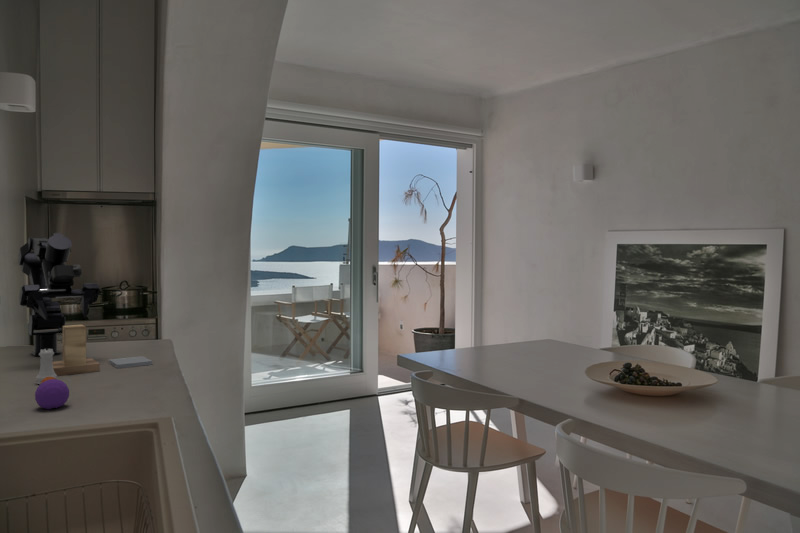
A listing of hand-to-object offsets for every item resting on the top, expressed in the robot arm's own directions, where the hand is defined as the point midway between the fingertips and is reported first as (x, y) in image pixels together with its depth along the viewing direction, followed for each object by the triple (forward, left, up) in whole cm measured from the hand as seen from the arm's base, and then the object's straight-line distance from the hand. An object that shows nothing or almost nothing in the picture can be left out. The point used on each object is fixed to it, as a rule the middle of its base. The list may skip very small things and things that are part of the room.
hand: (66, 317), depth 155 cm
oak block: (+8, 0, -11) cm, 14 cm away
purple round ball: (+35, -9, -14) cm, 39 cm away
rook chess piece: (+17, -7, -14) cm, 23 cm away
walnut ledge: (+5, 0, -13) cm, 14 cm away
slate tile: (+4, +15, -13) cm, 21 cm away
